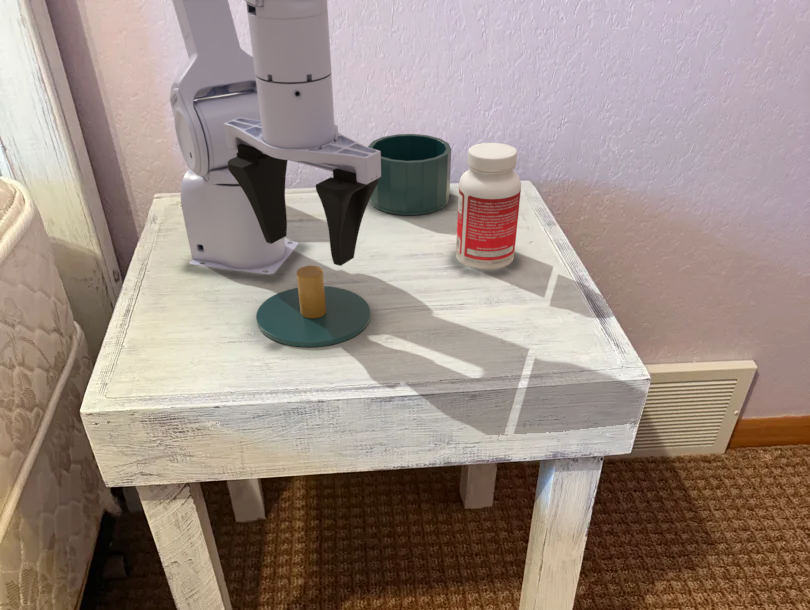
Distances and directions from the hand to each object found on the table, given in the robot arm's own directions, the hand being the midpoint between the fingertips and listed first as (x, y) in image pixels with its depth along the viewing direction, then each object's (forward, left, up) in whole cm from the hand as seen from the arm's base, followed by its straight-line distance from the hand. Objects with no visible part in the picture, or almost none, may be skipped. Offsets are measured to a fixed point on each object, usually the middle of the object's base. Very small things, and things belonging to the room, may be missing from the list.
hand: (309, 249), depth 67 cm
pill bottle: (+13, +17, -7) cm, 22 cm away
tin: (+1, +31, -7) cm, 32 cm away
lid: (0, 0, -6) cm, 7 cm away
